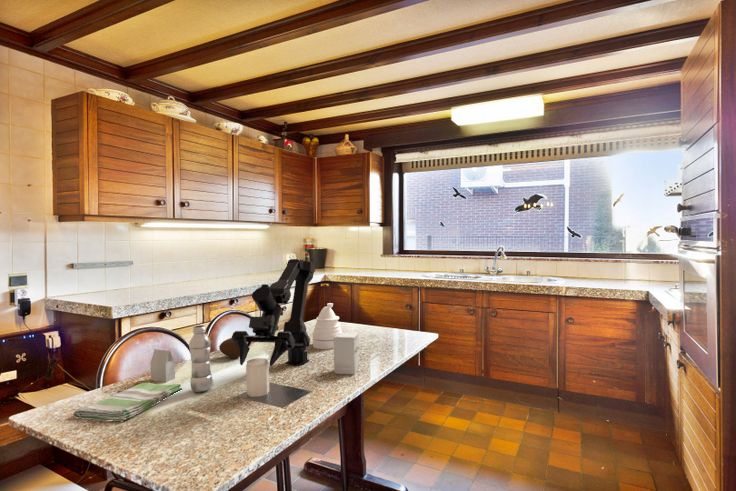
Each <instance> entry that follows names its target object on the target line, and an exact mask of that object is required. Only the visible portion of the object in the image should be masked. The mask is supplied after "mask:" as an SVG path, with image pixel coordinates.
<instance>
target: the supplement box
mask: <svg viewBox="0 0 736 491" xmlns="http://www.w3.org/2000/svg"><path fill="white" fill-rule="evenodd" d="M359 349H360V348H359V332H342V333H338V334H337V335H336V336H335V337H334V348H333V373H334V374H335V375H336V374H337V375H355V374H356V372H357V371H358V369H359V368H360V356H359V355H360V354H359V353H360V352H359Z"/></svg>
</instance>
